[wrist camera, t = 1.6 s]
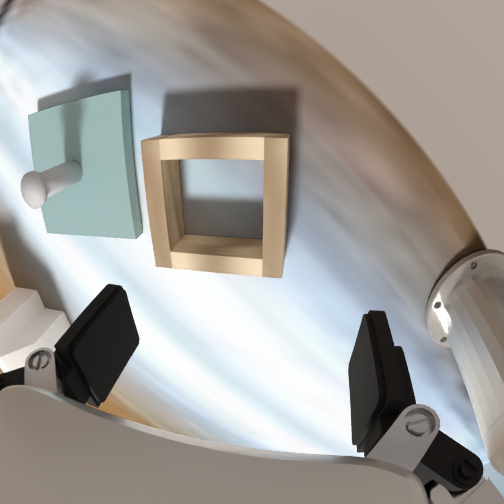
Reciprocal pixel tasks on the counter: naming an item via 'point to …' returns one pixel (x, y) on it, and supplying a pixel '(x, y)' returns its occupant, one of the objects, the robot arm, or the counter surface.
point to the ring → (215, 247)
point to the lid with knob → (85, 168)
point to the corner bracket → (27, 327)
